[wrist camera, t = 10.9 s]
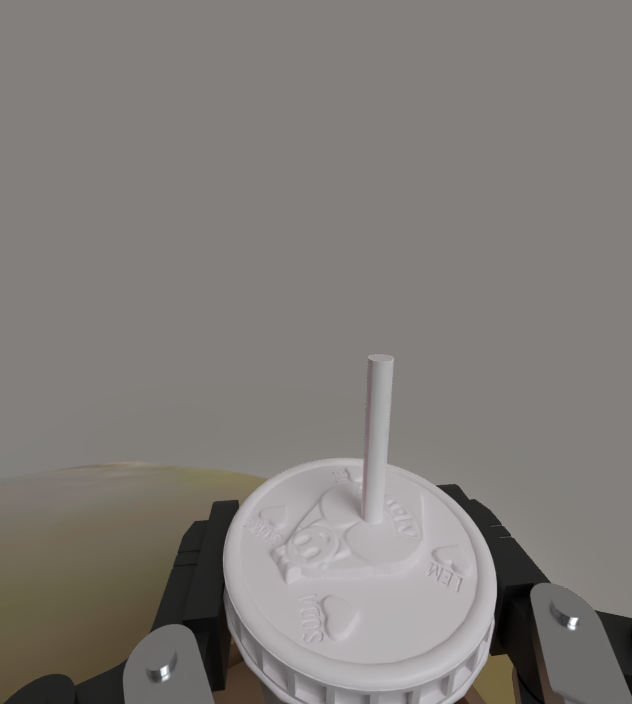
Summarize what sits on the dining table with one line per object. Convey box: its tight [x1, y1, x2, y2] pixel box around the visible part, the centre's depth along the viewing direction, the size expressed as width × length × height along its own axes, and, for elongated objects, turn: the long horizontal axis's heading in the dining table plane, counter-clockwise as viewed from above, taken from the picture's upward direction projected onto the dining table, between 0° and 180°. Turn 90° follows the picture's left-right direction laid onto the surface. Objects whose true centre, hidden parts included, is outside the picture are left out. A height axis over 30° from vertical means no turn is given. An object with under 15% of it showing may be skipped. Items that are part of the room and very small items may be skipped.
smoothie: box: [223, 355, 497, 704], centre depth 9 cm, size 6×6×14 cm
